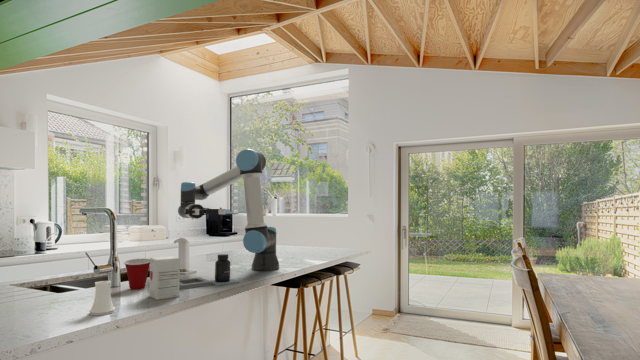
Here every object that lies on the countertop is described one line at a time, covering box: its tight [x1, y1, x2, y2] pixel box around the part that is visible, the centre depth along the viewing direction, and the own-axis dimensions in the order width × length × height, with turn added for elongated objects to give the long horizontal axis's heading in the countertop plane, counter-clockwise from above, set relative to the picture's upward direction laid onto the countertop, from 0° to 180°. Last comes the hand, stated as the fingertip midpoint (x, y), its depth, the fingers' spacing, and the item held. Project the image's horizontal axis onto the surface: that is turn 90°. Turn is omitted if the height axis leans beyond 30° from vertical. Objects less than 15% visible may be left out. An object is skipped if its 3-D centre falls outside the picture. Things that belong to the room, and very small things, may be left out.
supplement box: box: [148, 255, 181, 301], centre depth 160 cm, size 9×9×15 cm
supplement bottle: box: [214, 253, 231, 282], centre depth 187 cm, size 7×7×12 cm
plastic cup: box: [123, 258, 150, 291], centre depth 174 cm, size 11×11×12 cm
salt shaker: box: [89, 280, 116, 316], centre depth 136 cm, size 8×8×10 cm
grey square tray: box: [179, 276, 213, 290], centre depth 182 cm, size 14×14×2 cm
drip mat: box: [208, 278, 240, 287], centre depth 187 cm, size 11×11×1 cm
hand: (211, 211), depth 198 cm, fingers open, 13 cm apart
